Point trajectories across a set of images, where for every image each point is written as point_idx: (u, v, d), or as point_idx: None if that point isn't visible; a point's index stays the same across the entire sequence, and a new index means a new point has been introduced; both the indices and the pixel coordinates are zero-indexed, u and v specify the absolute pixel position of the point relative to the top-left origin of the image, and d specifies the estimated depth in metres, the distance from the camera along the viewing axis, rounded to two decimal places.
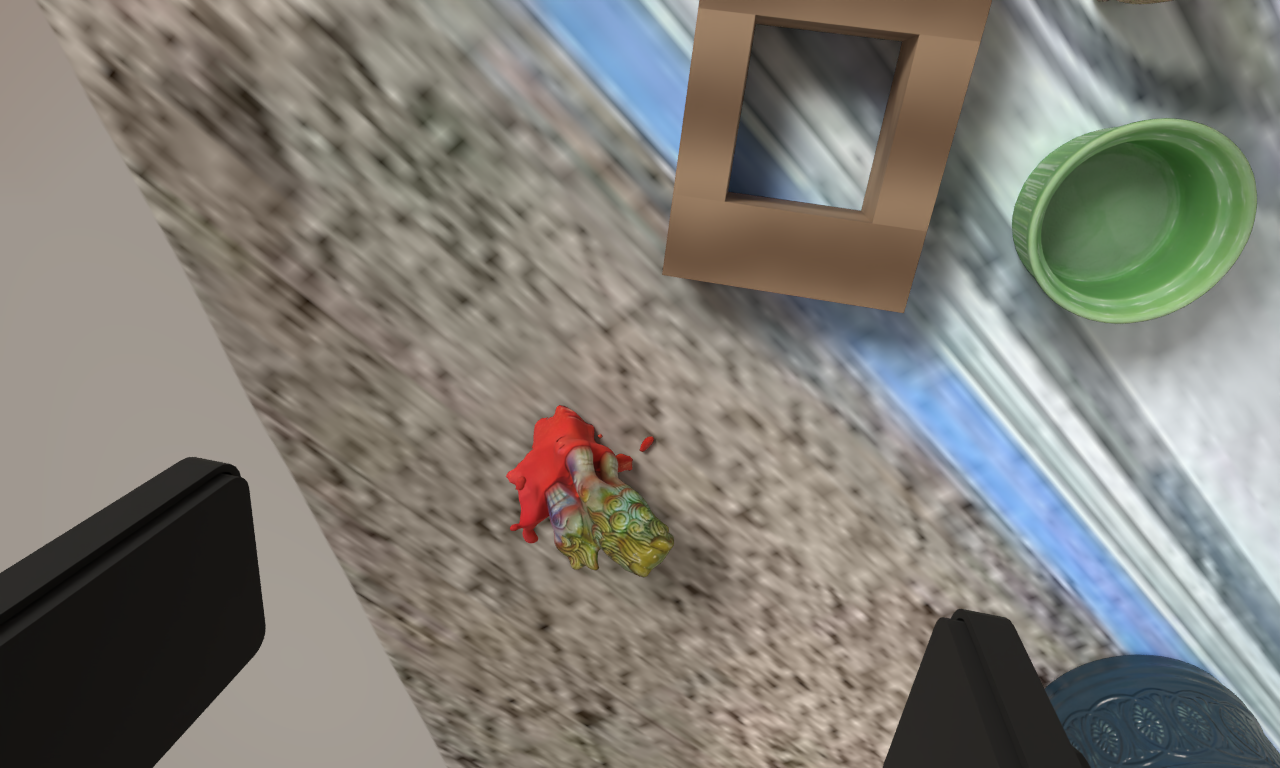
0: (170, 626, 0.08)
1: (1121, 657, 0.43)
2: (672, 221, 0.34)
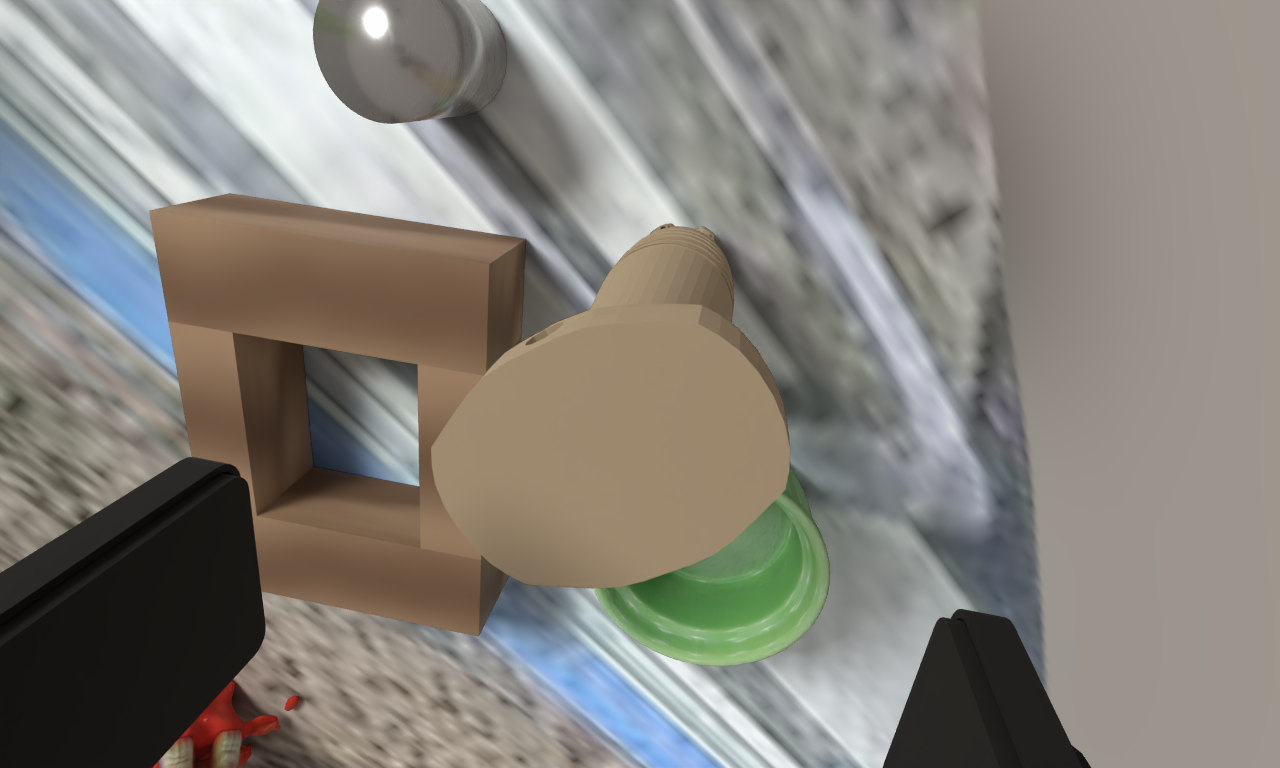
0: (170, 626, 0.08)
1: None
2: None
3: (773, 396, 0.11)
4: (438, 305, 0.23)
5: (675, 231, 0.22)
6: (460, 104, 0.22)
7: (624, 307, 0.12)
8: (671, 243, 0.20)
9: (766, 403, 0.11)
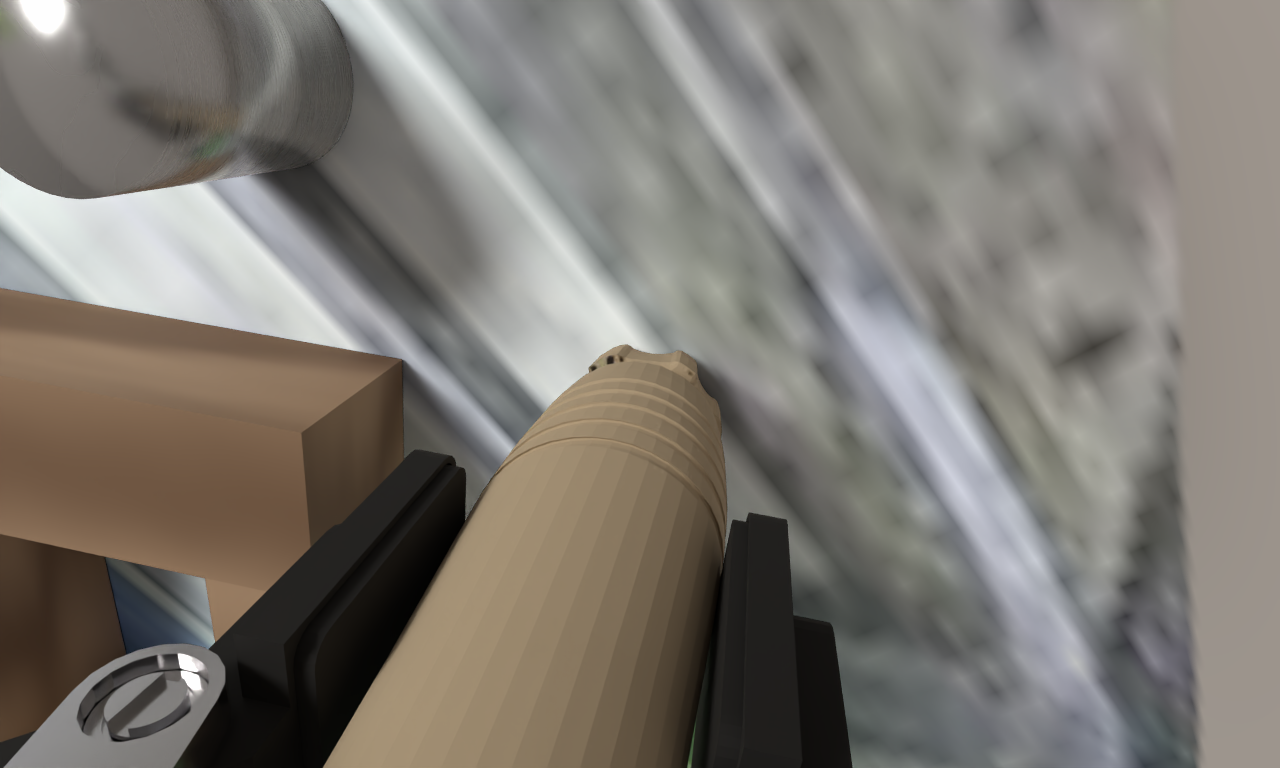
0: None
1: None
2: None
3: None
4: (226, 493, 0.14)
5: (621, 388, 0.12)
6: (247, 157, 0.13)
7: None
8: (603, 437, 0.10)
9: None
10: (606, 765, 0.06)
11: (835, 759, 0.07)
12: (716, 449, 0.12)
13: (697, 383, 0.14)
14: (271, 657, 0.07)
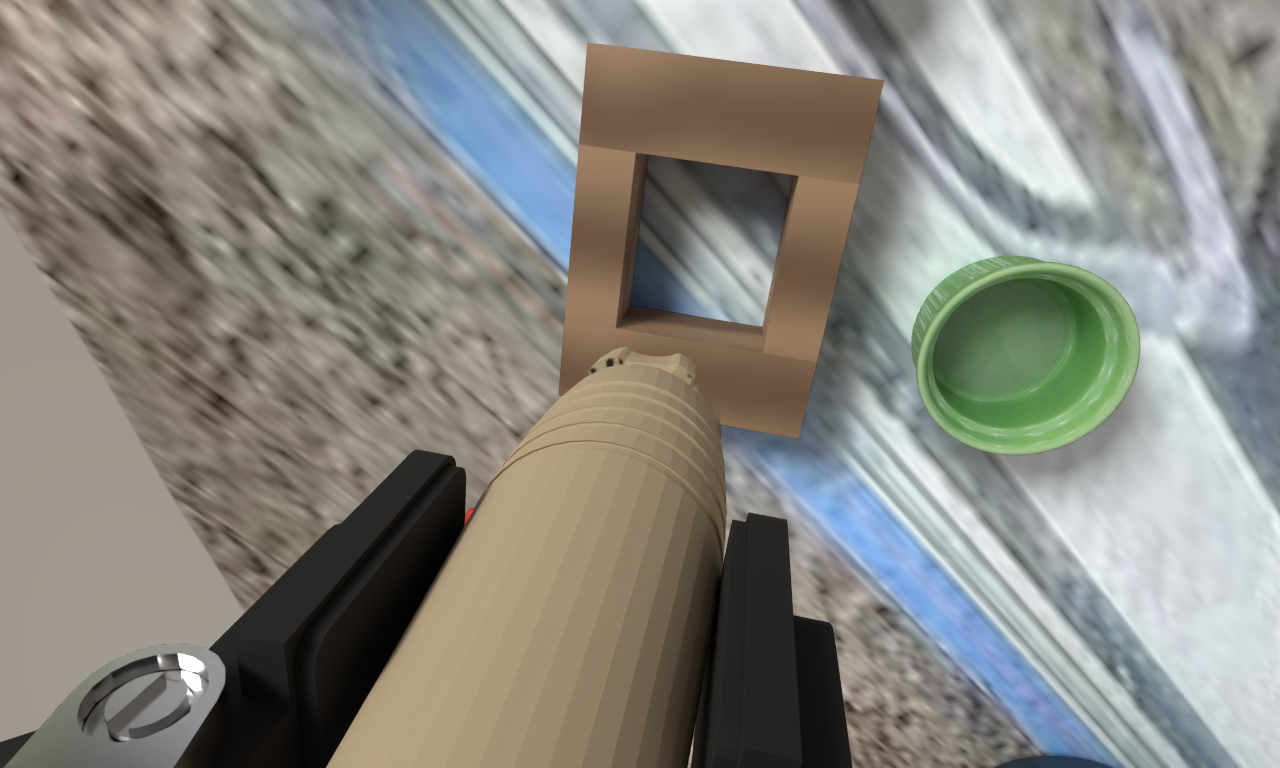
0: (419, 602, 0.09)
1: (1040, 758, 0.43)
2: (565, 345, 0.34)
3: None
4: (830, 120, 0.28)
5: (621, 391, 0.12)
6: None
7: None
8: (602, 440, 0.10)
9: None
10: None
11: (835, 758, 0.07)
12: (715, 452, 0.12)
13: (696, 385, 0.14)
14: (271, 657, 0.07)
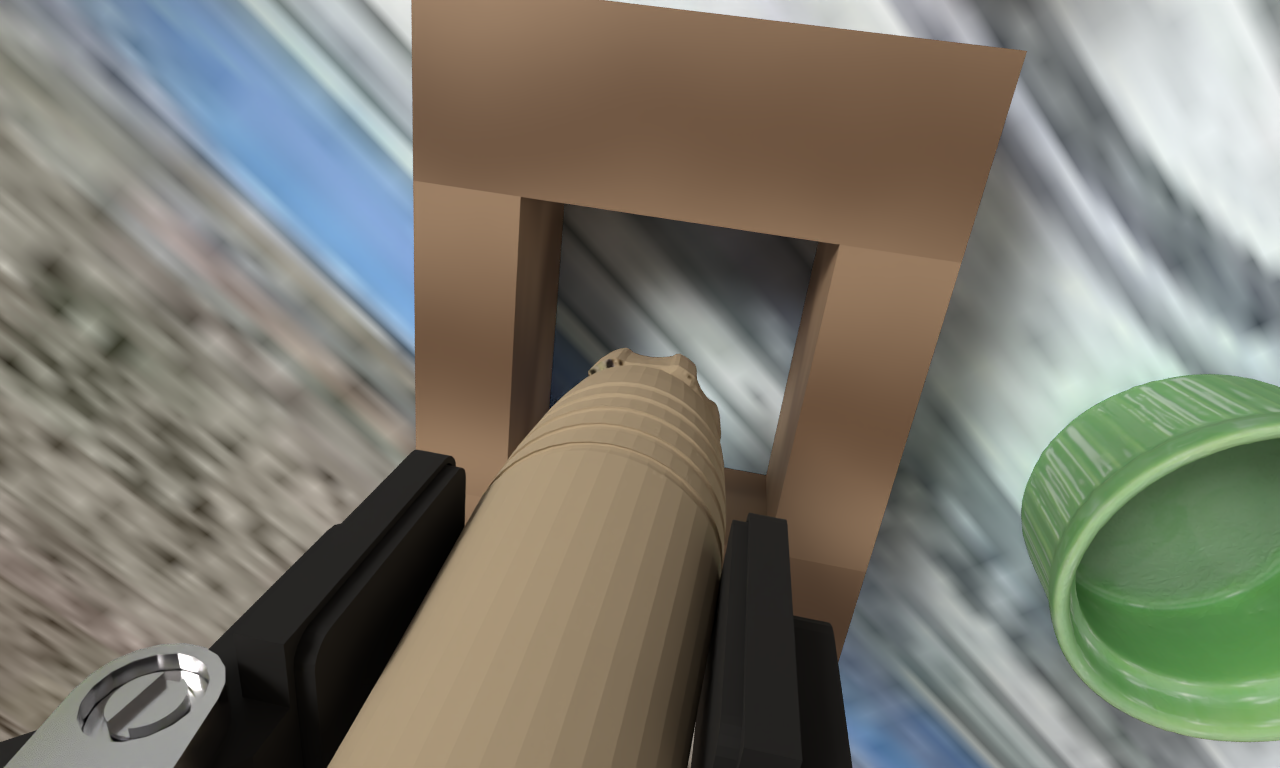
0: (419, 602, 0.09)
1: None
2: None
3: None
4: (907, 135, 0.14)
5: (620, 393, 0.12)
6: None
7: None
8: (602, 442, 0.10)
9: None
10: None
11: (835, 759, 0.07)
12: (715, 453, 0.12)
13: (696, 386, 0.14)
14: (271, 657, 0.07)
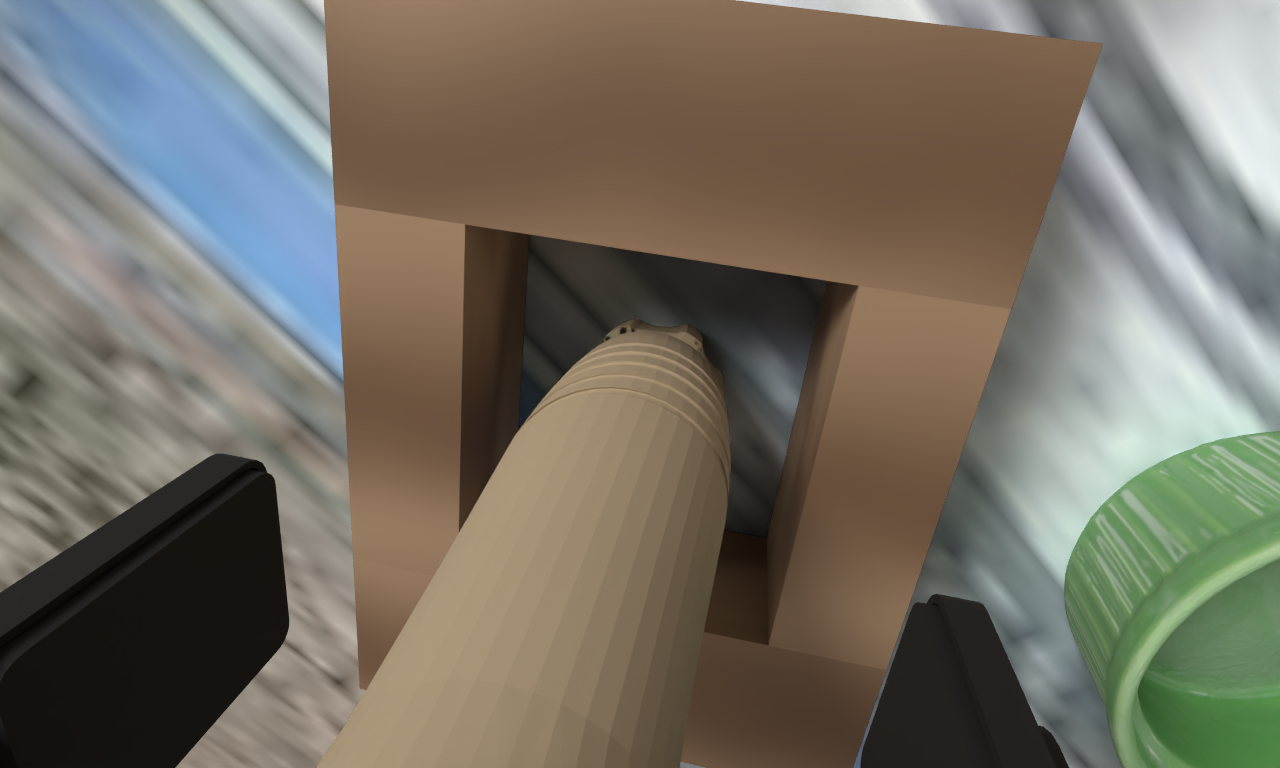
0: (201, 619, 0.08)
1: None
2: (361, 604, 0.16)
3: None
4: (945, 151, 0.11)
5: (635, 351, 0.13)
6: None
7: None
8: (621, 387, 0.11)
9: None
10: (635, 624, 0.07)
11: None
12: (721, 406, 0.13)
13: (703, 352, 0.16)
14: None
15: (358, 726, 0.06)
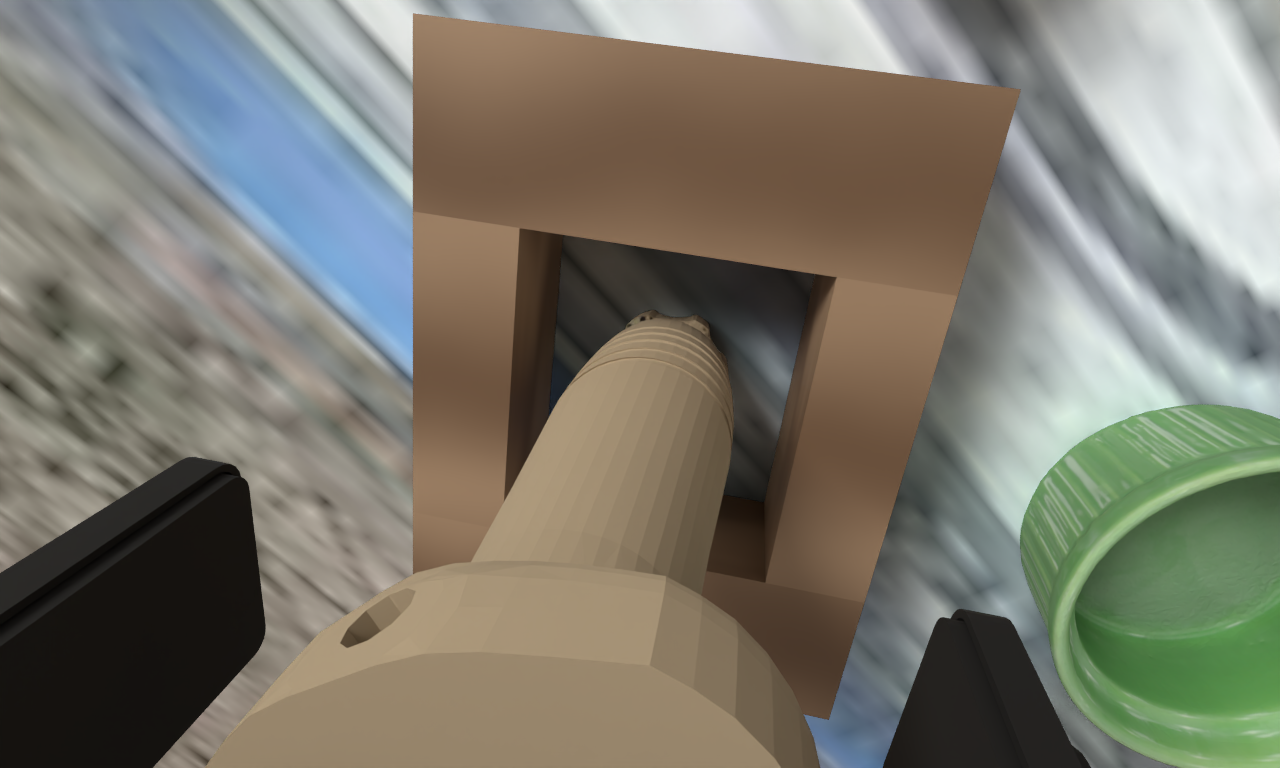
0: (170, 626, 0.08)
1: None
2: (418, 552, 0.19)
3: None
4: (903, 171, 0.14)
5: (655, 332, 0.16)
6: None
7: (519, 582, 0.06)
8: (647, 357, 0.14)
9: None
10: (666, 508, 0.10)
11: None
12: (725, 377, 0.16)
13: (709, 337, 0.19)
14: None
15: (483, 559, 0.09)
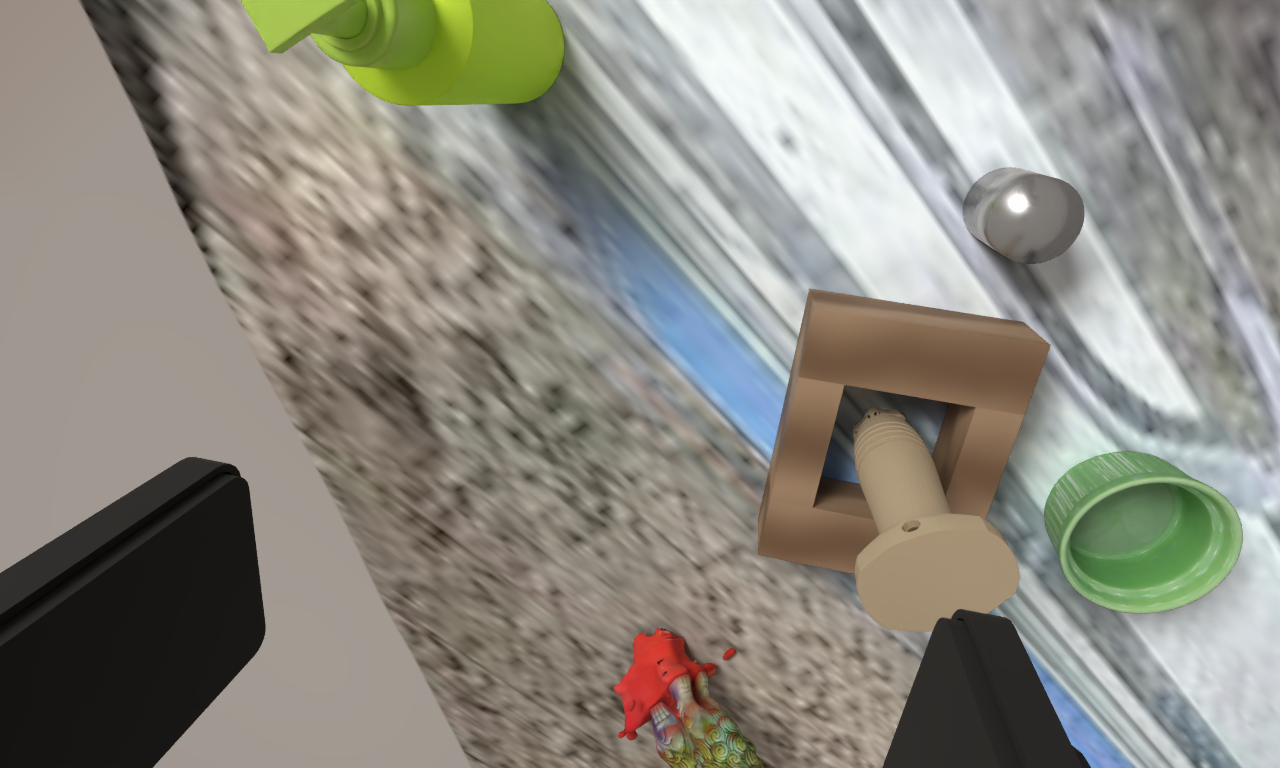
0: (170, 626, 0.08)
1: None
2: (768, 518, 0.42)
3: None
4: (1005, 370, 0.36)
5: (895, 425, 0.39)
6: None
7: (947, 517, 0.29)
8: (904, 440, 0.37)
9: (1011, 560, 0.28)
10: (943, 500, 0.33)
11: None
12: None
13: (905, 421, 0.41)
14: None
15: (902, 515, 0.32)
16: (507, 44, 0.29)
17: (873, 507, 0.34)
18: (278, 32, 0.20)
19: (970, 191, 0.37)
